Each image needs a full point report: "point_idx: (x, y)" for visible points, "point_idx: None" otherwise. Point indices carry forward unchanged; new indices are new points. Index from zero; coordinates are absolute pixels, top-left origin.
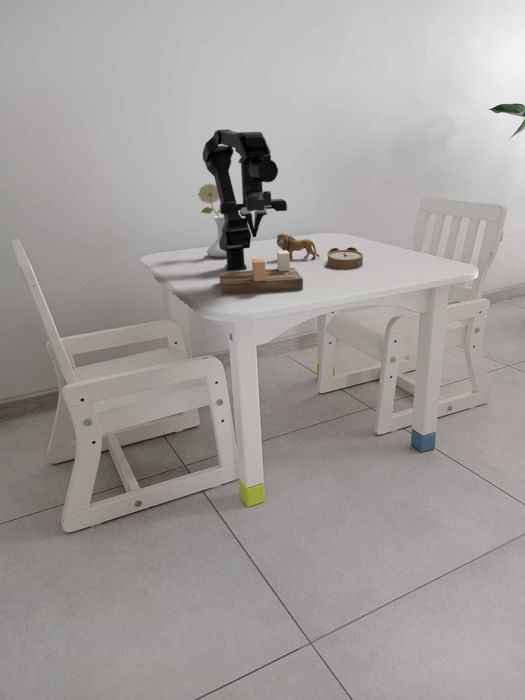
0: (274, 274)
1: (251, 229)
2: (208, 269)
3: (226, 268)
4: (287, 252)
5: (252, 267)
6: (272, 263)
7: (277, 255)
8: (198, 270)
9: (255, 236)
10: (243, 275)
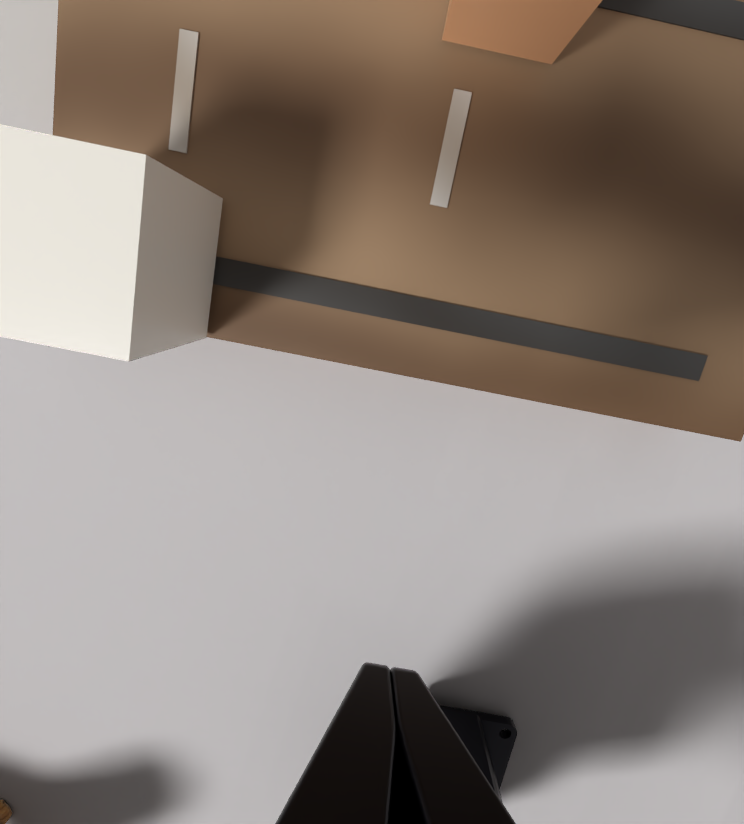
0: (301, 121)
1: (483, 793)
2: (614, 797)
3: (514, 737)
4: (5, 193)
5: (595, 6)
6: (146, 768)
7: (154, 320)
8: (685, 800)
9: (374, 664)
10: (589, 228)
